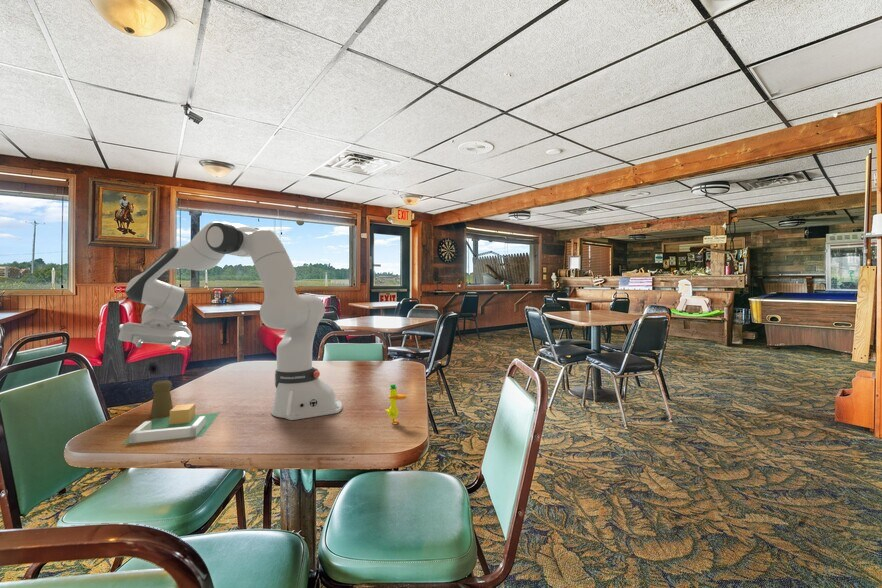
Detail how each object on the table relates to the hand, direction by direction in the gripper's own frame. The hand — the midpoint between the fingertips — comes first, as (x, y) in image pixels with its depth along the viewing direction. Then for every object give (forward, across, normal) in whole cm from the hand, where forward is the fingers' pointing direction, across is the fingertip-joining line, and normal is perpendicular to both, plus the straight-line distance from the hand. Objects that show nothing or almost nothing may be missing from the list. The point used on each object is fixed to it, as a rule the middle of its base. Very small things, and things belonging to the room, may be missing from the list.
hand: (156, 346), depth 124 cm
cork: (+15, +5, +16) cm, 23 cm away
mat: (+29, +6, +10) cm, 32 cm away
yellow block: (+24, +9, +11) cm, 28 cm away
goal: (+33, +5, +8) cm, 35 cm away
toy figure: (+61, +56, -14) cm, 84 cm away
